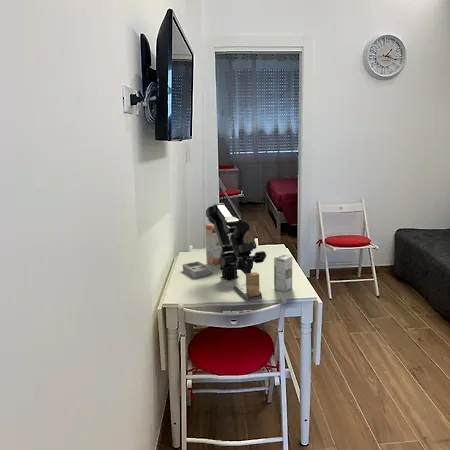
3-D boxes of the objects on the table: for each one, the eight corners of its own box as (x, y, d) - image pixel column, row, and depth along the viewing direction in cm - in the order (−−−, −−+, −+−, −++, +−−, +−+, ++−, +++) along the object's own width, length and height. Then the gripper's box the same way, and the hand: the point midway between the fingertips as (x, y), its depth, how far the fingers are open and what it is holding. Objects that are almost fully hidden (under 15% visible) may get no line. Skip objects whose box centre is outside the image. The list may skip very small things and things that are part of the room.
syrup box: (281, 285, 192) (280, 253, 189) (292, 288, 189) (292, 255, 186) (274, 289, 188) (273, 257, 185) (285, 292, 184) (285, 259, 181)
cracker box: (213, 265, 225) (212, 226, 220) (206, 263, 229) (204, 224, 224) (233, 259, 234) (232, 221, 229) (225, 257, 238) (224, 219, 234)
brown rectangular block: (246, 294, 180) (245, 273, 178) (256, 292, 181) (256, 272, 179) (249, 297, 177) (248, 275, 175) (259, 295, 178) (259, 274, 176)
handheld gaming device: (194, 279, 207) (194, 271, 206) (182, 271, 220) (182, 263, 219) (211, 275, 211) (211, 268, 210) (198, 267, 224) (198, 260, 223)
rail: (233, 288, 191) (233, 282, 191) (247, 286, 193) (247, 280, 193) (247, 301, 177) (247, 294, 176) (262, 298, 179) (262, 292, 178)
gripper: (222, 238, 178) (233, 271, 171) (264, 232, 184) (276, 264, 177) (217, 251, 187) (227, 284, 180) (257, 246, 193) (268, 277, 186)
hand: (249, 277), depth 180 cm, fingers closed
